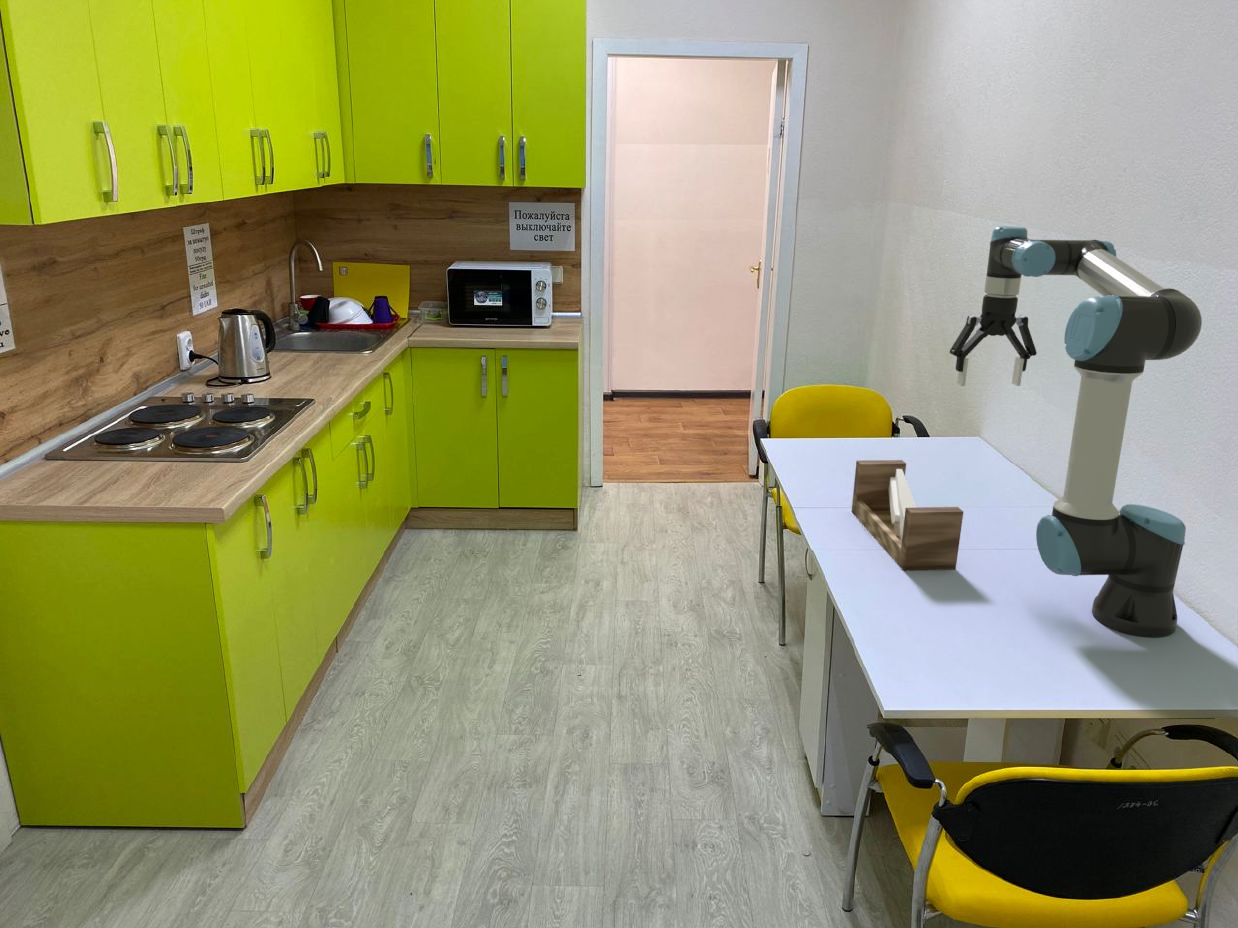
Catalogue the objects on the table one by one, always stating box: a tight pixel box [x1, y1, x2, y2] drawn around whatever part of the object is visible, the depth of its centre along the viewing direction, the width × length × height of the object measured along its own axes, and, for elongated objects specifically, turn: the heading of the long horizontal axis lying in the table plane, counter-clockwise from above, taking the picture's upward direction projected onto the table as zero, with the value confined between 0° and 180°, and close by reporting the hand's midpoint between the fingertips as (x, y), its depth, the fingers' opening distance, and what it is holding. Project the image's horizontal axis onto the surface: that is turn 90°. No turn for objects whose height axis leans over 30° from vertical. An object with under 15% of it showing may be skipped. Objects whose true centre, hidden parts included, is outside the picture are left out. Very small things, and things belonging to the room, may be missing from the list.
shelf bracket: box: [889, 469, 917, 542], centre depth 232 cm, size 6×25×13 cm, turn 172°
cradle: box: [851, 459, 964, 572], centre depth 230 cm, size 37×12×14 cm, turn 5°
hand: (988, 384), depth 228 cm, fingers open, 13 cm apart
